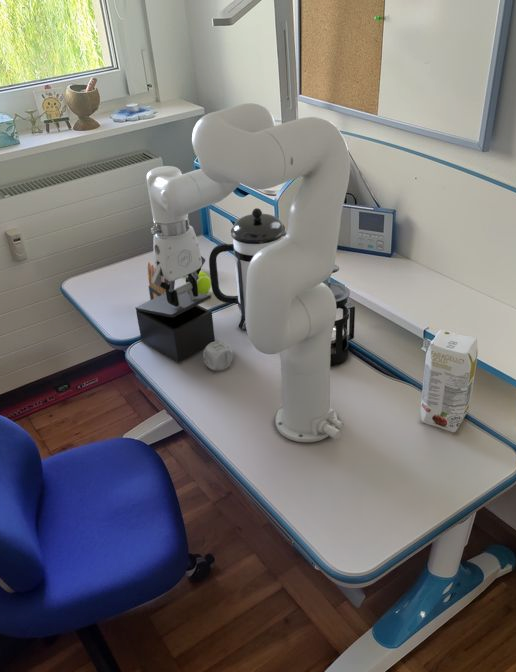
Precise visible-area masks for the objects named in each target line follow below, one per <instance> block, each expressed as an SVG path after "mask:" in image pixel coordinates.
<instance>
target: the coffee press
mask: <svg viewBox="0 0 516 672" xmlns="http://www.w3.org/2000/svg"><path fill="white" fill-rule="evenodd" d="M286 233H287V229H286V227H285V224H283V222H282V221H281V219H279V218H278V217H277V216H274V215H272V214H268V213H263V212H262V210H261V209H260V208H258V207H257V208H254V209H253V210H252V212H251V214H247V215H244V216H241V217H240V218H238V219H237V220H236V221H235V223H233V226H232V227H231V229H230V236H231V238H232V240H233V243H220V244H217V245H215V246H214V247H213V249H212V250H211V252H210V255H209V259H208V267H209V278H210V280H211V292H212V294H213V295H214V297H215V298H216V299H217V300H218V301H220V302H223V303H227V304H236V305H237V307H238V312H239V316H240V321H239V323H238V328H239V329H240V330H241V331H245V330H247V329H246V322H245V310H246V284H247V271H248V266H249V264H250V261H251V260H252V258H253V256H254V255H255V254H256V253H257V252H258V251H260V250H261V249H263V248H265V247H267V246H269V245H271V244H274V243H276V242H278V241H280V240H281V239H282V238H284V236H285V235H286ZM226 252H232V253H233V256H234V264H235V278H236V288H237V295H228V294H224V293H223V292H222V291H221V289H220V283H219V282H220V281H219V272H218V263H217V258H218V256H219V254H221V253H226Z"/></svg>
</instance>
